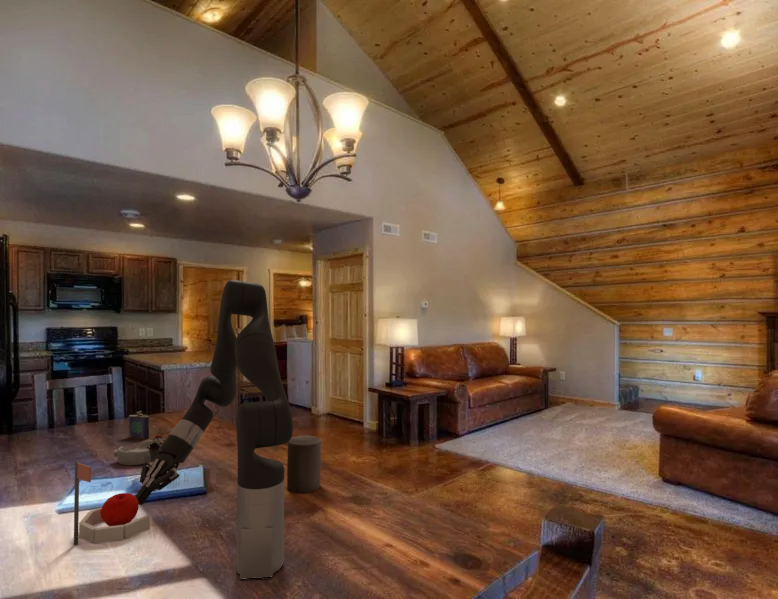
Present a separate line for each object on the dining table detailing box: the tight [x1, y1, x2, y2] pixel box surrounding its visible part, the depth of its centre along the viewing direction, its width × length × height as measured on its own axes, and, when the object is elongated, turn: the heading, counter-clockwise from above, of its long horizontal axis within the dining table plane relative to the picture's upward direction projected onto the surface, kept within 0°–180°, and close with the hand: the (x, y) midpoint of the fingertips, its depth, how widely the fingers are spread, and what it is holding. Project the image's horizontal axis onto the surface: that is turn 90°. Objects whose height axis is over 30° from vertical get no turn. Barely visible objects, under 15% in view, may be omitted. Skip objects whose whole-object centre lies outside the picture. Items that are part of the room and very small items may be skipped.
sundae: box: [147, 427, 166, 462], centre depth 136 cm, size 7×7×15 cm
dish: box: [113, 439, 153, 466], centre depth 154 cm, size 14×14×5 cm
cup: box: [73, 461, 151, 546], centre depth 104 cm, size 13×15×18 cm
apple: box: [100, 492, 140, 527], centre depth 107 cm, size 8×8×7 cm
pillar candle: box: [286, 434, 322, 494], centre depth 131 cm, size 10×10×15 cm
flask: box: [127, 410, 150, 440], centre depth 180 cm, size 9×3×11 cm, turn 76°
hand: (137, 503), depth 111 cm, fingers closed
